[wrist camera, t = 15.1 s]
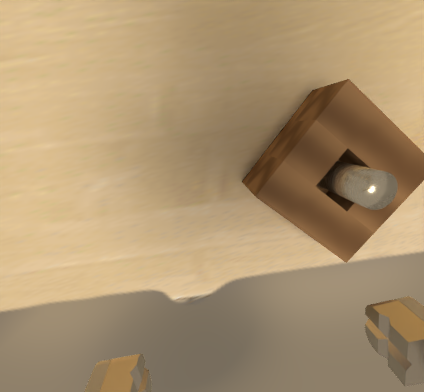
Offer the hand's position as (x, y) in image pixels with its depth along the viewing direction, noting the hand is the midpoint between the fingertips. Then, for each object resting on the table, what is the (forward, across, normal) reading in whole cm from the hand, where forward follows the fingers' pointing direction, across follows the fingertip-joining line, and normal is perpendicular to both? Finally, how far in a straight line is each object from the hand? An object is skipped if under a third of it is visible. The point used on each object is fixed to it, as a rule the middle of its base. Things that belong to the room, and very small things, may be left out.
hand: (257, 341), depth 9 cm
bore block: (+28, -16, +2) cm, 33 cm away
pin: (+26, -16, +2) cm, 31 cm away
